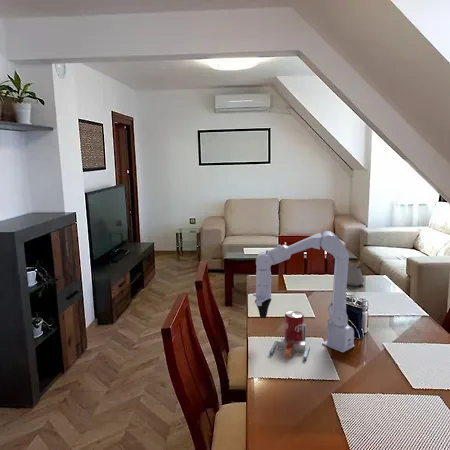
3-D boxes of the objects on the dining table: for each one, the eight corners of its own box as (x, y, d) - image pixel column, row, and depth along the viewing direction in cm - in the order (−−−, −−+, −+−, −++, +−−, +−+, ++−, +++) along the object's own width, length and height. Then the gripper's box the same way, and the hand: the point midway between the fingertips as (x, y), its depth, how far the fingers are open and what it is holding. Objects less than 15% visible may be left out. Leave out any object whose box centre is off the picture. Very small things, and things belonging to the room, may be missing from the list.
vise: (280, 334, 167) (280, 320, 166) (313, 339, 162) (313, 325, 161) (269, 355, 150) (269, 340, 149) (306, 361, 145) (306, 345, 144)
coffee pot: (340, 280, 237) (341, 255, 234) (361, 281, 236) (362, 255, 233) (348, 293, 216) (349, 265, 213) (370, 293, 215) (372, 265, 212)
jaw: (279, 344, 157) (279, 338, 157) (305, 348, 154) (305, 341, 154) (273, 356, 149) (274, 348, 148) (301, 360, 146) (301, 353, 145)
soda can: (281, 345, 158) (282, 315, 156) (287, 337, 164) (288, 309, 162) (299, 349, 154) (300, 319, 152) (305, 341, 161) (306, 312, 159)
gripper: (258, 277, 165) (258, 309, 168) (248, 288, 152) (248, 323, 154) (275, 279, 163) (274, 311, 165) (266, 290, 150) (266, 325, 152)
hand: (263, 317), depth 160 cm, fingers closed
